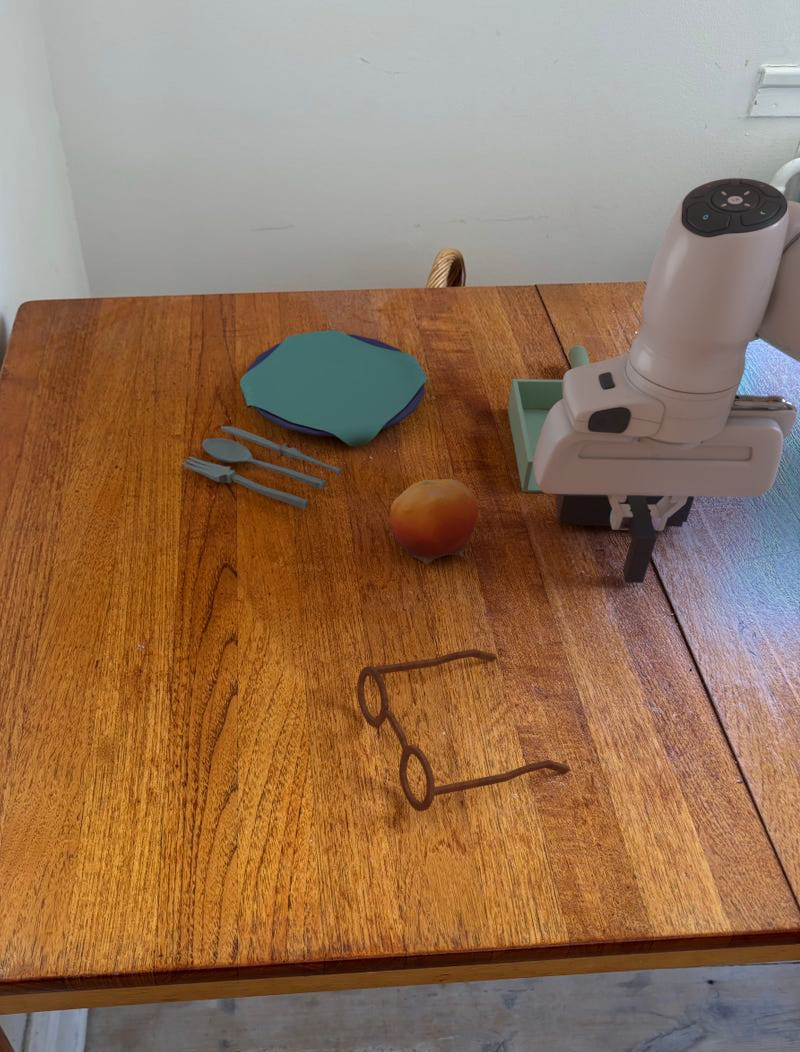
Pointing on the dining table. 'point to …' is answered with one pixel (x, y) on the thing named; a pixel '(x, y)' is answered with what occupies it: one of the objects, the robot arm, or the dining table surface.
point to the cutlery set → (319, 400)
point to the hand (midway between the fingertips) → (635, 525)
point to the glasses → (415, 750)
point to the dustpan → (534, 415)
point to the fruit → (434, 518)
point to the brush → (641, 528)
